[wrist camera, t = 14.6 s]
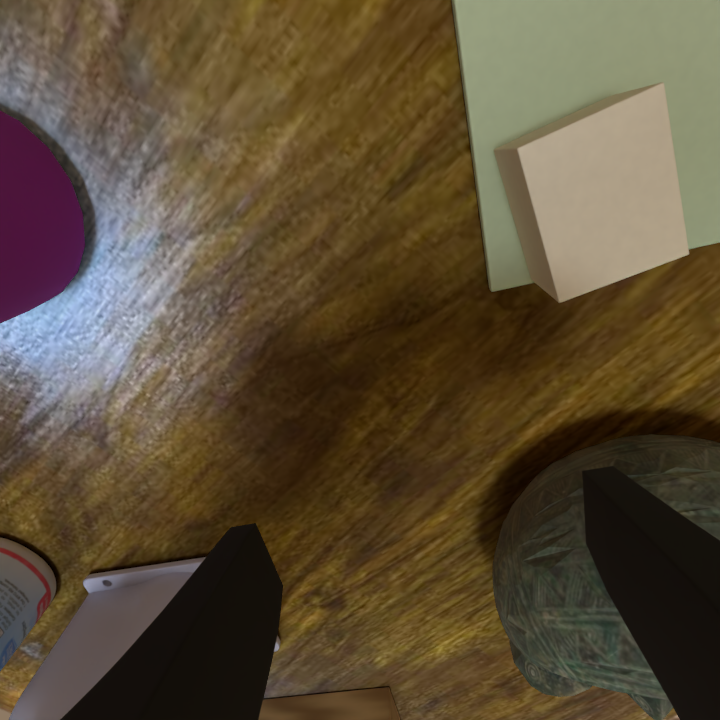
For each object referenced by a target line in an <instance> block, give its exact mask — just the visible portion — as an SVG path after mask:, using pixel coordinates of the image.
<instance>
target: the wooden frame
mask: <svg viewBox="0 0 720 720" xmlns="http://www.w3.org/2000/svg"><path fill="white" fill-rule="evenodd" d="M258 720H401V719H400V717H399V714H398V711H397V708H396V705H395V702H394V700H393V697H392V694H391V691H390V688H389V687H383V688H374V689H364V690H354V691H344V692H334V693H324V694H314V695H304V696H294V697H284V698H274V699H265V700H263V702H262V706H261V710H260V714H259V719H258Z"/></svg>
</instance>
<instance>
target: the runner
mask: <svg viewBox="0 0 720 720" xmlns="http://www.w3.org/2000/svg"><path fill="white" fill-rule="evenodd" d="M451 1H452V8H453V16H454V24H455V31H456V39H457V47H458V54H459V62H460V70H461V77H462V85H463V93H464V100H465V108H466V116H467V123H468V131H469V138H470V146H471V154H472V161H473V169H474V177H475V184H476V192H477V200H478V207H479V215H480V223H481V230H482V238H483V246H484V253H485V261H486V269H487V276H488V284H489V289H490V290H491V291H492V292H494V291H499V290H503V289H508V288H513V287H517V286H522V285H526V284H531V283H535V282H533V281H532V280H531V277H530V273H529V270H528V267H527V263H526V260H525V256H524V253H523V249H522V246H521V243H520V239H519V236H518V232H517V229H516V225H515V222H514V219H513V215H512V212H511V208H510V205H509V201H508V198H507V195H506V191H505V188H504V184H503V181H502V178H501V174H500V171H499V167H498V164H497V160H496V157H495V154H494V149H496V148H498V147H500V146H502V145H504V144H507V143H509V142H511V141H513V140H515V139H517V138H520V137H522V136H524V135H526V134H528V133H531V132H533V131H535V130H537V129H539V128H541V127H544V126H546V125H548V124H550V123H552V122H555V121H557V120H559V119H561V118H563V117H565V116H568V115H570V114H572V113H574V112H576V111H579V110H581V109H583V108H585V107H587V106H589V105H592V104H594V103H596V102H598V101H600V100H603V99H605V98H607V97H609V96H611V95H615V94H619V93H623V92H627V91H630V90H634V89H638V88H642V87H646V86H649V85H653V84H657V83H661V82H664V86H665V93H666V99H667V106H668V113H669V120H670V127H671V133H672V140H673V147H674V154H675V161H676V167H677V174H678V181H679V188H680V195H681V201H682V208H683V215H684V222H685V229H686V235H687V242H688V249H692V248H697V247H701V246H706V245H710V244H715V243H720V0H451Z"/></svg>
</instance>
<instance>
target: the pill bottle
mask: <svg viewBox="0 0 720 720" xmlns="http://www.w3.org/2000/svg"><path fill="white" fill-rule="evenodd" d="M55 593H56V579H55V576H54V573H53V571H52V570H51V568H50V567H49V565H48V564H47V563H46V562H45V561H44V560H43V559H42V558H41V557H39V556H38V555H37V554H35V553H34V552H32V551H31V550H29V549H28V548H26V547H24V546H22V545H21V544H19V543H16V542H14V541H11V540H8V539H5V538H1V537H0V671H1V670H2V668H3V667H4V666H5V664H6V663H7V662H8V660H9V659H10V657H11V656H12V655H13V653H14V652H15V651H16V649H17V648H18V647H19V645H20V644H21V643H22V641H23V640H24V639H25V637H26V636H27V634H28V633H29V632H30V630H31V629H32V628H33V626H34V625H35V624H36V623H37V621H38V620H39V618H40V617H41V616H42V614H43V613H44V612H45V610H46V609H47V607H48V606H49V605H50V603H51V602H52V600H53V598H54V596H55Z"/></svg>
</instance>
